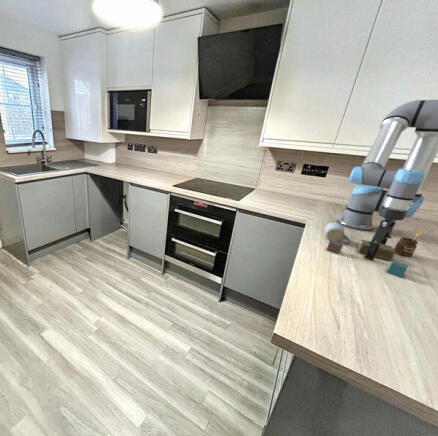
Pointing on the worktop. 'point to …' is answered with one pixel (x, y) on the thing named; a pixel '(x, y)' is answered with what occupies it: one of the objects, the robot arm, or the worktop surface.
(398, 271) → the teal block
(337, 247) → the walnut block
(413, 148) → the robot arm
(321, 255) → the worktop surface
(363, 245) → the stone block
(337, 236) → the ceramic mug
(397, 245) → the utensil holder
